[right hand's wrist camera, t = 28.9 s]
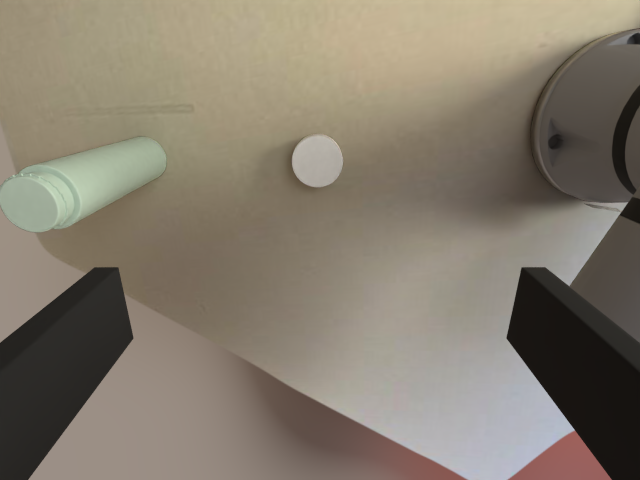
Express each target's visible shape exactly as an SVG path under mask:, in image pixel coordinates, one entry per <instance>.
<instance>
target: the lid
mask: <svg viewBox="0 0 640 480" xmlns="http://www.w3.org/2000/svg"><path fill="white" fill-rule="evenodd" d="M342 167H343V156H342V153H341V150H340V147H339V146H338V144H337V143H336V142H335V141H334V140H333V139H332V138H331V137H329V136H327V135H324V134H311V135H308V136H306V137H304V138H303V139H302V140H301V141H300V142H299V143H298V144H297V146H296V147H295V150H294V152H293V155H292V168H293V171H294V173H295V175H296V176H297V178H298V179H299V180H300V181H301V182H303V183H304V184H306V185H308V186H311V187H324V186H327V185H329V184H331V183H332V182H334V181H335V180H336V179H337V178H338V176H339V175H340V173H341V171H342Z"/></svg>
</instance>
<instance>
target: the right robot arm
mask: <svg viewBox="0 0 640 480" xmlns="http://www.w3.org/2000/svg"><path fill="white" fill-rule="evenodd" d="M531 148H532V153H533V157H534V160H535V163H536V165H537V167H538V169H539V171H540V172H541V174H542V175H543V177H544V178H545V179H546V180H547V181H548V182H549V183H550V184H551V185H552V186H554V187H555V188H556V189H558V190H560V191H562V192H564V193H566V194H568V195H571V196H573V197H575V198H578V199H581V200H585V201H590V202H599V203H615V202H628V204H627V205H626V207H625V208H624V210H623V211H621V210H618V209H615V208H609V207H603V206H597V205H590V204H586V205H588V206H590V207H594V208H600V209H606V210H613V211H619V212H621V214H620V215H619V216H618V218H617V219H616V221H615V222H614V224H613V225H612V226H611V228H610V229H609V231H608V232H607V234H606V235H605V236H604V238H603V239H602V241H601V242H600V244H599V245H598V246H597V248H596V249H595V251H594V252H593V254H592V255H591V256H590V258H589V259H588V261H587V262H586V264H585V265H584V266H583V268H582V269H581V271H580V272H579V273H578V275H577V276H576V278H575V279H574V281H573V282H572V283H571V285H570V286H568V285H567V284H565V283H564V282H563V281H562V280H560V279H559V278H558V277H557V276H555V275H554V274H553V273H552V272H550V271H549V270H548V269H547V268H545V267H522V269H521V273H520V278H519V283H518V287H517V292H516V297H515V301H514V306H513V311H512V315H511V320H510V325H509V329H508V334H507V340H508V341H509V342H510V344H511V345H512V346H513V348H514V349H515V350H516V352H517V353H518V354H519V356H520V357H521V358H522V360H523V361H524V362H525V364H526V365H527V366H528V368H529V369H530V370H531V372H532V373H533V374H534V376H535V377H536V378H537V380H538V381H539V382H540V384H541V385H542V386H543V388H544V389H545V391H546V392H547V393H548V395H549V396H550V397H551V399H552V400H553V401H554V403H555V404H556V405H557V407H558V408H559V409H560V411H561V412H562V413H563V415H564V416H565V417H566V419H567V420H568V421H569V423H570V424H571V425H572V427H573V428H574V429H575V431H576V432H577V433H578V435H579V436H580V437H581V439H582V440H583V442H584V443H585V444H586V446H587V447H588V448H589V450H590V451H591V452H592V454H593V455H594V456H595V458H596V459H597V460H598V462H599V463H600V464H601V466H602V467H603V468H604V470H605V471H606V472H607V474H608V475H609V476H610V478H611V479H612V480H640V28H639V29H632V30H627V31H622V32H617V33H613V34H610V35H607V36H604V37H602V38H600V39H597V40H595V41H593V42H591V43H590V44H588V45H586V46H585V47H583V48H582V49H580V50H579V51H577V52H576V53H575V54H574V55H572V56H571V57H570V58H569V59H568V60H567V61H566V62H565V63H564V64H563V65H562V66H561V67H560V68H559V69H558V70H557V71H556V73H555V74H554V75H553V76H552V78H551V79H550V81H549V82H548V84H547V85H546V87H545V89H544V90H543V92H542V94H541V96H540V98H539V100H538V103H537V106H536V108H535V112H534V115H533V120H532V125H531ZM132 340H133V334H132V329H131V325H130V320H129V315H128V311H127V306H126V301H125V297H124V292H123V287H122V283H121V278H120V273H119V269H118V267H95V268H93V269H92V270H91V271H90V272H88V273H87V274H86V275H85V276H83V277H82V278H81V279H80V280H78V281H77V282H76V283H75V284H73V285H72V286H71V287H70V288H68V289H67V290H66V291H65V292H63V293H62V294H61V295H60V296H58V297H57V298H56V299H55V300H53V301H52V302H51V303H50V304H48V305H47V306H46V307H45V308H43V309H42V310H41V311H40V312H38V313H37V314H36V315H34V316H33V317H32V318H31V319H29V320H28V321H27V322H26V323H24V324H23V325H22V326H21V327H19V328H18V329H17V330H16V331H14V332H13V333H12V334H11V335H9V336H8V337H7V338H6V339H4V340H3V341H2V342H1V343H0V480H28V479H29V478H30V476H31V475H32V474H33V472H34V471H35V470H36V468H37V467H38V466H39V464H40V463H41V462H42V460H43V459H44V458H45V456H46V455H47V454H48V452H49V451H50V450H51V448H52V447H53V446H54V444H55V443H56V441H57V440H58V439H59V438H60V436H61V435H62V433H63V432H64V431H65V429H66V428H67V427H68V425H69V424H70V423H71V421H72V420H73V419H74V417H75V416H76V415H77V413H78V412H79V411H80V409H81V408H82V407H83V405H84V404H85V403H86V401H87V400H88V399H89V397H90V396H91V395H92V393H93V392H94V391H95V389H96V388H97V386H98V385H99V384H100V382H101V381H102V380H103V378H104V377H105V376H106V374H107V373H108V372H109V370H110V369H111V368H112V366H113V365H114V364H115V362H116V361H117V360H118V358H119V357H120V356H121V354H122V353H123V352H124V350H125V349H126V348H127V346H128V345H129V343H130V342H131V341H132Z"/></svg>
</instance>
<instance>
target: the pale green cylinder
mask: <svg viewBox="0 0 640 480" xmlns="http://www.w3.org/2000/svg"><path fill="white" fill-rule="evenodd" d="M166 164H167V159H166V155H165V152H164V150H163V148H162V147H161V146H160V145H159V144H158V143H157V142H156V141H154V140H153V139H150V138H148V137H135V138H132V139H128V140H124V141H120V142H117V143H113V144H109V145H106V146H102V147H98V148H94V149H91V150H87V151H83V152H79V153H76V154H72V155H68V156H65V157H61V158H57V159H53V160H50V161H46V162H42V163H39V164H35V165H31V166H28V167H26V168H24V169H23V170H21V171H20V172H19V173H18V174H17V175H13V176H11V177H10V178H8V179H6V180H5V181H4V183H3V184H2V185H1V186H0V207H1V209H2V211H3V213H4V214H5V216H6V217H7V218H8V219H9V220H10V221H11V222H12V223H13V224H14V225H16V226H17V227H19V228H21V229H23V230H25V231H29V232H35V233H40V232H45V231H48V230H50V229H63V228H67V227H69V226H71V225H73V224H74V223H76V222H78V221H80V220H82V219H83V218H85V217H87V216H89V215H91V214H93V213H94V212H96V211H98V210H100V209H102V208H103V207H105V206H107V205H109V204H111V203H112V202H114V201H116V200H118V199H120V198H122V197H123V196H125V195H127V194H129V193H131V192H132V191H134V190H136V189H138V188H140V187H141V186H143V185H145V184H147V183H149V182H150V181H152V180H154V179H156V178H158V177H159V176H161V175H162V174H163V172H164V171H165V168H166Z"/></svg>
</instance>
